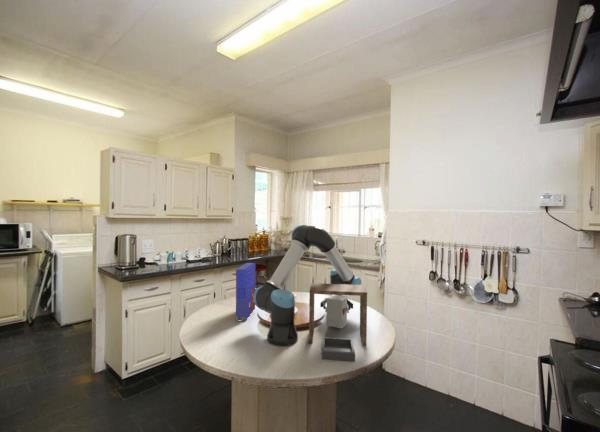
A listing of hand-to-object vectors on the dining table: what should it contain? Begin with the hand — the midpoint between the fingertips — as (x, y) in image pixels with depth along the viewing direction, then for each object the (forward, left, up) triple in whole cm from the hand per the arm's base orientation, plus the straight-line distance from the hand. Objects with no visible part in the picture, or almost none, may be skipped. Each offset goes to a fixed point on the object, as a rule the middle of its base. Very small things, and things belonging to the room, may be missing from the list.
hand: (337, 310), depth 153 cm
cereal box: (-55, +16, -11) cm, 58 cm away
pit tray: (0, -25, -10) cm, 27 cm away
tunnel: (0, -11, -10) cm, 15 cm away
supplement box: (0, +2, -9) cm, 9 cm away
